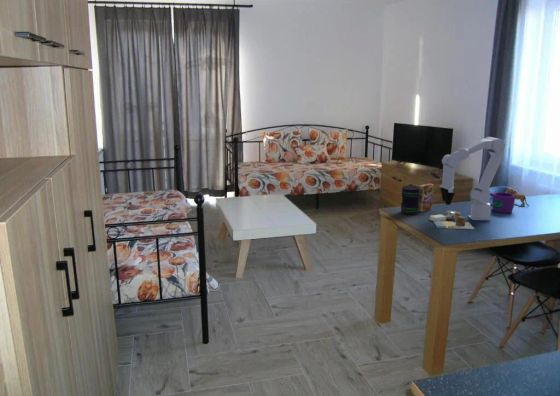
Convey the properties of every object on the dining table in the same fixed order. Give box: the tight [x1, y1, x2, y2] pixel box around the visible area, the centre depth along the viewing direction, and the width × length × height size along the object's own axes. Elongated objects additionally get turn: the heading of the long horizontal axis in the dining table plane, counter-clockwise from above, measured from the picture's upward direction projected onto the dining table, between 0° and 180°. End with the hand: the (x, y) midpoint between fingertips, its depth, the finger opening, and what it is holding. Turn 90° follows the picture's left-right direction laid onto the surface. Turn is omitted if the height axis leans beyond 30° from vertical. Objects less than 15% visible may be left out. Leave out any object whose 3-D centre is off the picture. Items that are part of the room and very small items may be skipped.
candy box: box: [417, 182, 434, 213], centre depth 270 cm, size 9×4×15 cm, turn 123°
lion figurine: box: [504, 187, 530, 207], centre depth 282 cm, size 15×5×9 cm, turn 37°
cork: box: [453, 211, 462, 222], centre depth 250 cm, size 3×3×4 cm
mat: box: [432, 220, 475, 230], centre depth 243 cm, size 18×11×1 cm, turn 83°
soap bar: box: [429, 213, 447, 222], centre depth 253 cm, size 7×4×2 cm, turn 110°
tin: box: [444, 210, 457, 221], centre depth 256 cm, size 6×6×4 cm
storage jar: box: [400, 185, 420, 217], centre depth 264 cm, size 10×10×15 cm
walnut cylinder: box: [456, 215, 466, 226], centre depth 242 cm, size 4×4×4 cm
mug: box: [487, 191, 516, 214], centre depth 269 cm, size 17×11×10 cm, turn 35°
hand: (446, 202), depth 250 cm, fingers open, 7 cm apart
